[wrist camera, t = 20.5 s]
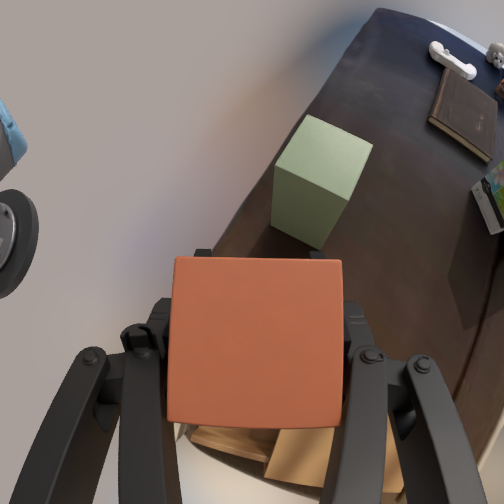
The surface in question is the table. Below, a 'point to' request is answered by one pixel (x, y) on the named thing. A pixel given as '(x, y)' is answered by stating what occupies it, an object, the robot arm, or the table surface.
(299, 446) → the cabinet
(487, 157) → the hardcover book
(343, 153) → the stand
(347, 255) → the table surface
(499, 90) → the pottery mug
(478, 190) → the tea box
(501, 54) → the toy rhinoceros
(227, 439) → the drawer
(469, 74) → the game controller
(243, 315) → the block
